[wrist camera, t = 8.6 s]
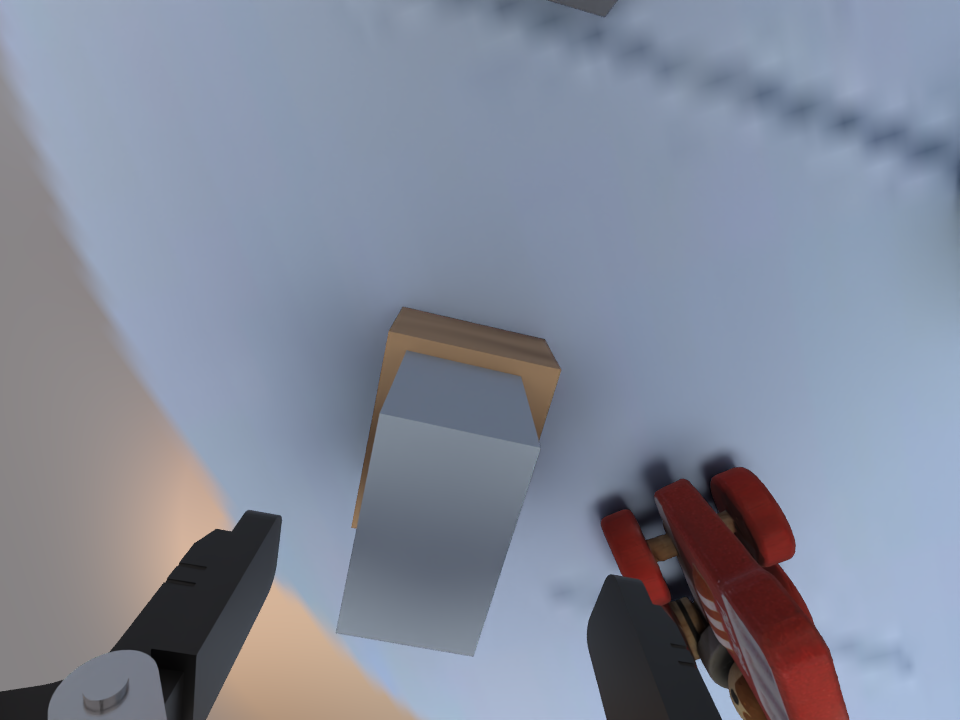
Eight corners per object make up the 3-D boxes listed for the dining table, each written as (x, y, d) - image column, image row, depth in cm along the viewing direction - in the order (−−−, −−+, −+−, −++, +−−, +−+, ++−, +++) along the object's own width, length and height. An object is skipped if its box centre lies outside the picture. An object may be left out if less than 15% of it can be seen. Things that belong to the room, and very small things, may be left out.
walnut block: (403, 305, 20) (388, 331, 16) (543, 337, 20) (561, 369, 17) (371, 471, 22) (351, 527, 18) (496, 495, 23) (502, 555, 19)
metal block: (406, 350, 16) (379, 413, 11) (520, 376, 17) (540, 448, 12) (370, 520, 18) (335, 632, 14) (473, 540, 19) (473, 656, 14)
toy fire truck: (655, 657, 26) (769, 936, 16) (579, 477, 22) (668, 697, 12) (781, 615, 25) (981, 881, 16) (724, 421, 22) (940, 610, 12)
